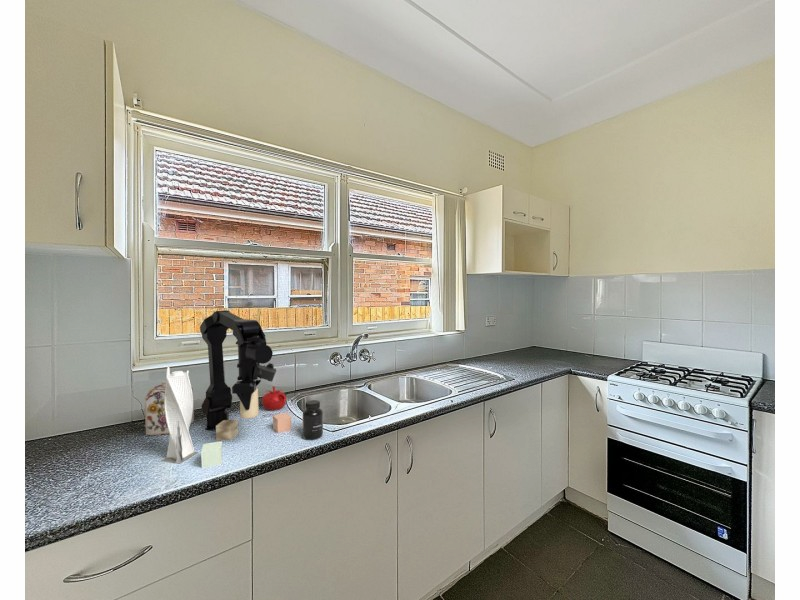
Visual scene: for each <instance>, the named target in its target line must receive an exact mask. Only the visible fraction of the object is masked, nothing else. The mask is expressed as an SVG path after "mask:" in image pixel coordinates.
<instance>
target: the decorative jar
mask: <svg viewBox="0 0 800 600" xmlns="http://www.w3.org/2000/svg"><path fill="white" fill-rule="evenodd" d="M166 382H167V379H165V380H163V381H161V384H158V385H155V386H153V387H151V388H150V389H149V391H148V392H147V394H146V395H145V397H144V420H145V436H147V435H150V436H160V435H161V434H165V435H170V433H169V430H168V426H167V422H166V416H165V406H164V400H165V388H166ZM191 388H192V394H193V395H194V391H193V390H194V389H193V387H192V386H191ZM194 407H195V406H194V404H193V411H192V418H191V422H190V425H192V424H193V423H194V422H193V421H195V411H194V410H195V408H194ZM192 422H193V423H192ZM191 423H192V424H191ZM161 436H162V435H161Z"/></svg>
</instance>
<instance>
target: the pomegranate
mask: <svg viewBox="0 0 800 600" xmlns="http://www.w3.org/2000/svg"><path fill="white" fill-rule="evenodd" d="M283 391H284V390H283V389H278V390H276V387H275V385H273V386H272V390H266V393H265V394H264V395H263V396H262V397H261V404H262V407H263V408H264V409H265V410H267V411H277V410H281V409H282V408H284V407H285V405H286V402H287V396H286V394H285V393H284V392H283Z"/></svg>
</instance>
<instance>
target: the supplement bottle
mask: <svg viewBox="0 0 800 600" xmlns="http://www.w3.org/2000/svg"><path fill="white" fill-rule="evenodd" d="M304 407H305V409H304V411H303V412H302V437H303V439H305V440H307V441H314V439H315V440H318V438H319V439H321V438H322V437H323V434H324V412H323V410H322V409H321V402H320V401H319V400H316V399H313V400H307V401H305V406H304Z"/></svg>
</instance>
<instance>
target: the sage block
mask: <svg viewBox="0 0 800 600" xmlns="http://www.w3.org/2000/svg"><path fill="white" fill-rule="evenodd" d="M200 455H201V468H202V467H205V468H209V467H208V466H210V467H214V466H213V465H216V466H221V465H222V461H223V440H219V441H214V442H209V443H203V444H202V447H201V452H200ZM220 464H221V465H220Z"/></svg>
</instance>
